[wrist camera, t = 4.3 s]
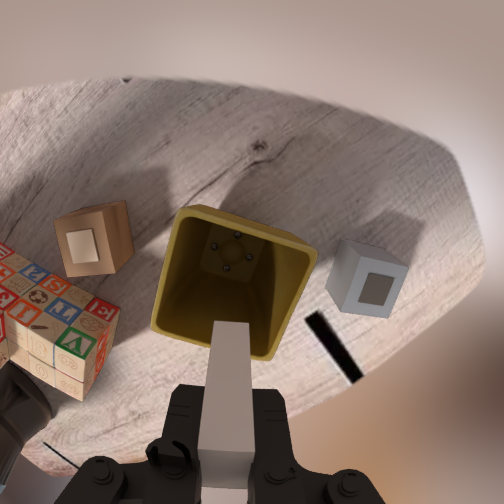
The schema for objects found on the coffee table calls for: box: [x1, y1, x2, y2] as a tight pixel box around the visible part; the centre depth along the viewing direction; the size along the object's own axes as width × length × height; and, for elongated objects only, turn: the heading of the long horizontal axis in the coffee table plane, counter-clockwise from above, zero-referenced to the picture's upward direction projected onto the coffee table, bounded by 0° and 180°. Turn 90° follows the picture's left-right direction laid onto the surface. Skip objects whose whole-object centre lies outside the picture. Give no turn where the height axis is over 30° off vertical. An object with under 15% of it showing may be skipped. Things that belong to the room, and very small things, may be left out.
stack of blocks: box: [0, 243, 120, 402], centre depth 21 cm, size 21×6×12 cm, turn 66°
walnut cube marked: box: [53, 201, 135, 277], centre depth 23 cm, size 5×5×5 cm
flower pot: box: [151, 204, 318, 361], centre depth 22 cm, size 9×9×9 cm
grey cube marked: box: [325, 238, 409, 318], centre depth 25 cm, size 5×5×5 cm
